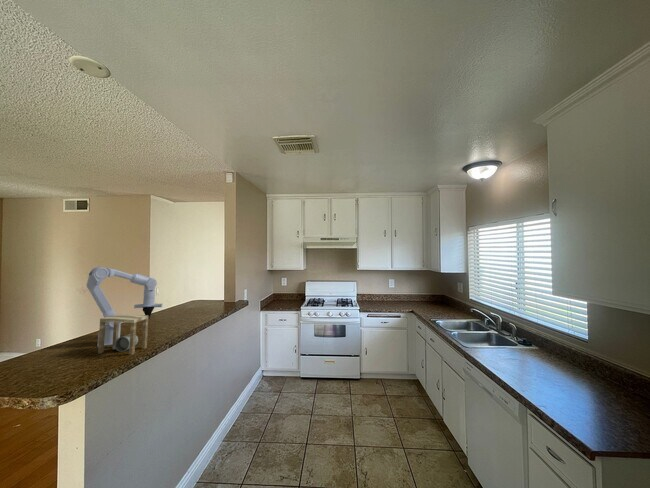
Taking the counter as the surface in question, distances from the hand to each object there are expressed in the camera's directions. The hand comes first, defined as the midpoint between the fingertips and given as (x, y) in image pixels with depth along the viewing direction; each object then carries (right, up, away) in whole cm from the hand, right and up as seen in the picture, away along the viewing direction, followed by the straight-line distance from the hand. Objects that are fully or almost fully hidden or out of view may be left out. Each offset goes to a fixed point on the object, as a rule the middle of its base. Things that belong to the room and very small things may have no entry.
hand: (147, 319), depth 158 cm
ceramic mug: (+3, -10, -22) cm, 24 cm away
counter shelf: (+4, -9, -24) cm, 26 cm away
